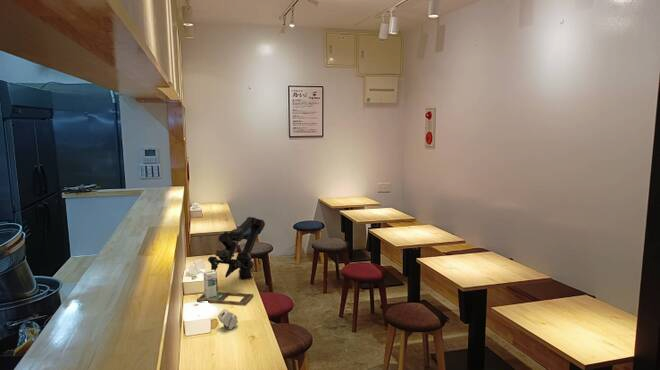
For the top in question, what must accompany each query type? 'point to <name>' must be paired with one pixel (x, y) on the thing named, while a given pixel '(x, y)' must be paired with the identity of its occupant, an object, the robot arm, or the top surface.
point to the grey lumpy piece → (227, 319)
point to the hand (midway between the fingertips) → (218, 276)
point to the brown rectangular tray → (224, 295)
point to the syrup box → (210, 284)
